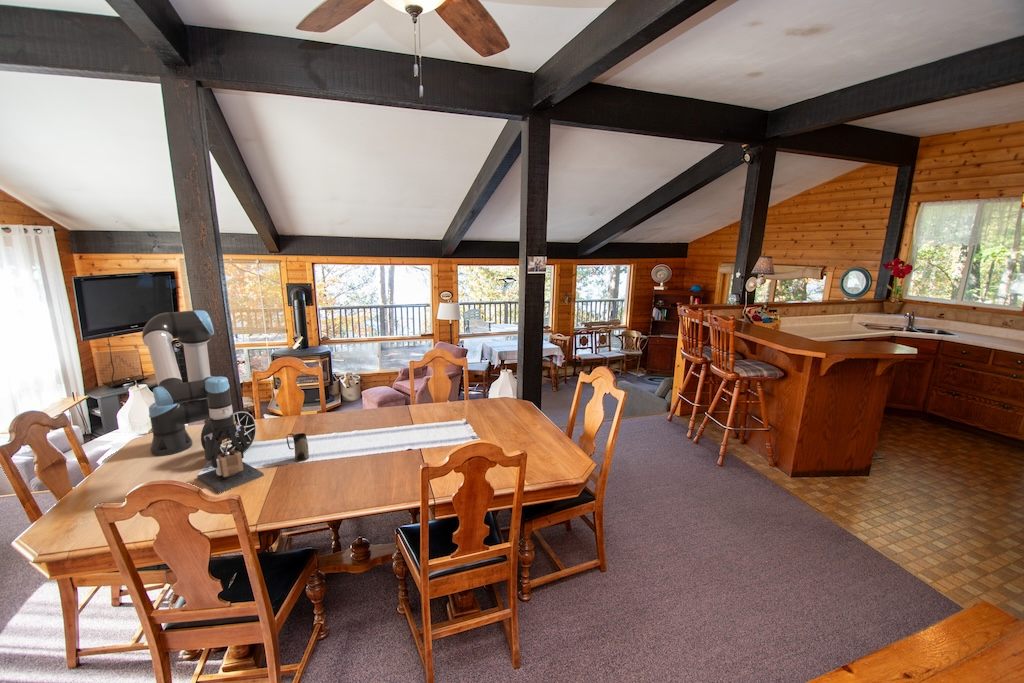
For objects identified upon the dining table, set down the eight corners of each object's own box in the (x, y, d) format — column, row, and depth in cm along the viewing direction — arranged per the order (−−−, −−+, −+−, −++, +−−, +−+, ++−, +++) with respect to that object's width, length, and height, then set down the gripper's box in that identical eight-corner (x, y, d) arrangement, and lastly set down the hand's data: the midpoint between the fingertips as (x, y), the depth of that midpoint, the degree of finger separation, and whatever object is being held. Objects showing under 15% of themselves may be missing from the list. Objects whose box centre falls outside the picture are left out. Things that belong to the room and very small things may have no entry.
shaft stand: (197, 478, 169) (193, 453, 167) (240, 462, 182) (237, 439, 180) (219, 493, 158) (215, 467, 156) (263, 475, 171) (260, 451, 169)
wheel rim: (222, 465, 180) (215, 421, 176) (204, 463, 182) (197, 419, 178) (258, 445, 199) (253, 405, 195) (242, 443, 201) (236, 403, 197)
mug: (310, 455, 189) (307, 430, 186) (307, 461, 184) (304, 435, 181) (291, 457, 187) (288, 431, 185) (287, 463, 182) (284, 436, 180)
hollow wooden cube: (216, 472, 169) (213, 456, 167) (235, 465, 174) (233, 449, 173) (224, 477, 165) (221, 460, 164) (243, 469, 171) (241, 453, 169)
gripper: (196, 426, 155) (205, 483, 160) (253, 410, 171) (260, 462, 176) (187, 422, 159) (197, 478, 164) (244, 407, 175) (251, 458, 180)
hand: (229, 470), depth 170 cm, fingers closed on hollow wooden cube, 7 cm apart
